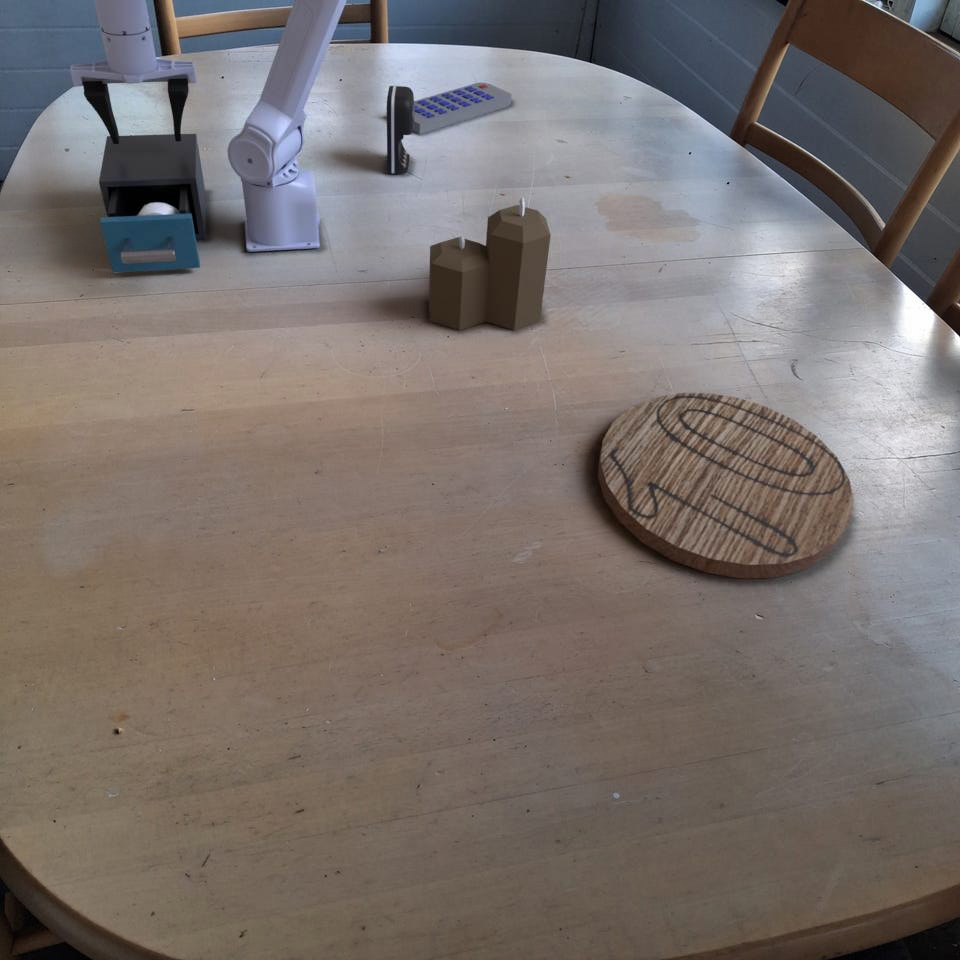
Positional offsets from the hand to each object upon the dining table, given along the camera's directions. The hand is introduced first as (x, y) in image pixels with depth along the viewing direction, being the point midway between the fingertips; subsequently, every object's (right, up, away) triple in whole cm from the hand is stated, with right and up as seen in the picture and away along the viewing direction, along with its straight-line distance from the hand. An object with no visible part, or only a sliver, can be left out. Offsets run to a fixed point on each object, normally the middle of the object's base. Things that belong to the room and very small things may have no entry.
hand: (147, 139), depth 117 cm
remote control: (+38, +19, +39) cm, 58 cm away
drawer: (+2, -15, -2) cm, 16 cm away
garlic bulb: (+3, -13, -1) cm, 14 cm away
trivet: (+67, -45, -26) cm, 85 cm away
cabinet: (0, -8, +6) cm, 10 cm away
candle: (+44, -23, -4) cm, 50 cm away
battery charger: (+31, +4, +23) cm, 38 cm away
